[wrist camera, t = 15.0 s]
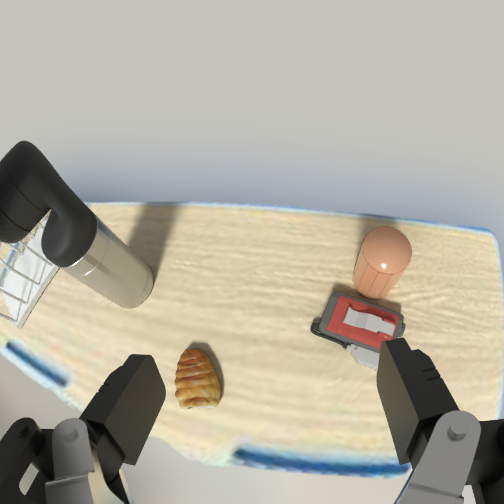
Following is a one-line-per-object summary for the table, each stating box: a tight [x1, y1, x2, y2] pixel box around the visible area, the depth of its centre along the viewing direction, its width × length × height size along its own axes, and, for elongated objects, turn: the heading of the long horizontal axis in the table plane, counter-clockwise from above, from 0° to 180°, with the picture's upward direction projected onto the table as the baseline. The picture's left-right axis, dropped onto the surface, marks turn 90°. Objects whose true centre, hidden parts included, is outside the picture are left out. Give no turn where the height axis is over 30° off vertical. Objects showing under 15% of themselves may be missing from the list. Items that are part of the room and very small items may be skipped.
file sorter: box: [0, 217, 59, 329], centre depth 51 cm, size 25×17×16 cm
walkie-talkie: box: [310, 292, 405, 371], centre depth 37 cm, size 9×4×20 cm
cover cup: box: [353, 227, 412, 300], centre depth 38 cm, size 7×7×10 cm
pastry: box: [175, 349, 221, 409], centre depth 39 cm, size 9×7×4 cm
